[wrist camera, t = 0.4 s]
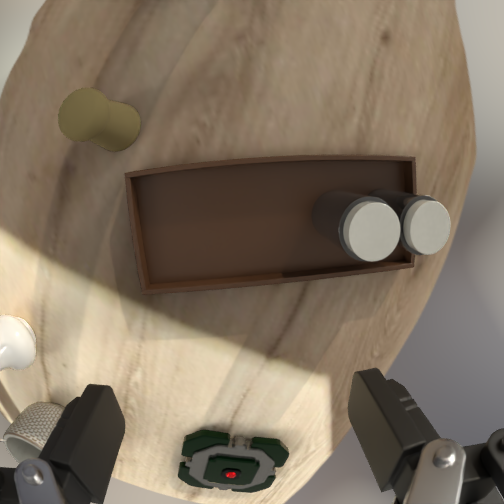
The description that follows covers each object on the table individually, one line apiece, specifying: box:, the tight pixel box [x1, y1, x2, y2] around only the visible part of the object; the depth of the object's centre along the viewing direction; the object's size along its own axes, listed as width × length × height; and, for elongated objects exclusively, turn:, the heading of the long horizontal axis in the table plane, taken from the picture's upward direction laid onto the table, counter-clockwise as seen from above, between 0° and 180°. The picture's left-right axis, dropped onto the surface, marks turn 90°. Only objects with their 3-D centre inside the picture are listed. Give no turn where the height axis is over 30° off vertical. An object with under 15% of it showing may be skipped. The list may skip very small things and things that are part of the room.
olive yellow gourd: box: [58, 88, 141, 152], centre depth 26 cm, size 6×6×11 cm
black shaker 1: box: [311, 190, 400, 262], centre depth 30 cm, size 6×6×11 cm
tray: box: [125, 155, 417, 295], centre depth 34 cm, size 14×34×2 cm, turn 94°
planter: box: [3, 402, 65, 464], centre depth 35 cm, size 14×14×13 cm
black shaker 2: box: [367, 189, 450, 255], centre depth 30 cm, size 6×6×11 cm
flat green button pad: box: [178, 430, 289, 493], centre depth 43 cm, size 18×18×5 cm
